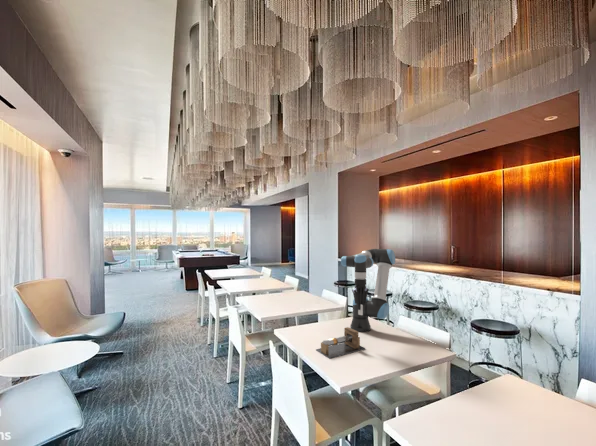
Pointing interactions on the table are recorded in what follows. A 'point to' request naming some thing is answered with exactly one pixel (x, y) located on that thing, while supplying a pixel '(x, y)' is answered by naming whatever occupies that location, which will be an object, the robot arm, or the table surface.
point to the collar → (354, 337)
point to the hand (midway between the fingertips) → (360, 314)
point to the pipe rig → (338, 347)
